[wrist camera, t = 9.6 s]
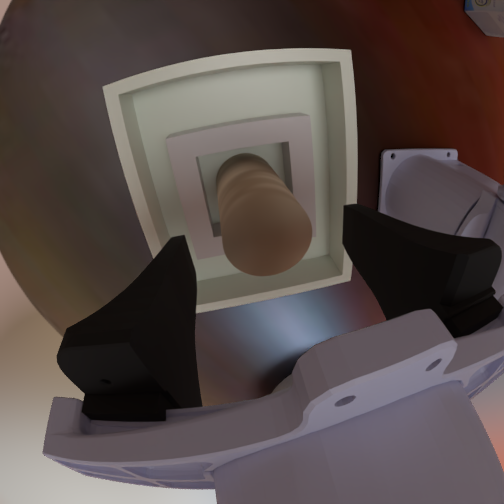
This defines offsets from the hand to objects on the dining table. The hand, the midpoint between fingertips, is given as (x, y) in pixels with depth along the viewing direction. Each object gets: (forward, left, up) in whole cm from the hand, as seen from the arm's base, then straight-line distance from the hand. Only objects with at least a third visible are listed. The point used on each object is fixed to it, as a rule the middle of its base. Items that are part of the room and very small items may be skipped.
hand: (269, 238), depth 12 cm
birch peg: (0, 0, -8) cm, 8 cm away
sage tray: (0, 0, -9) cm, 9 cm away
